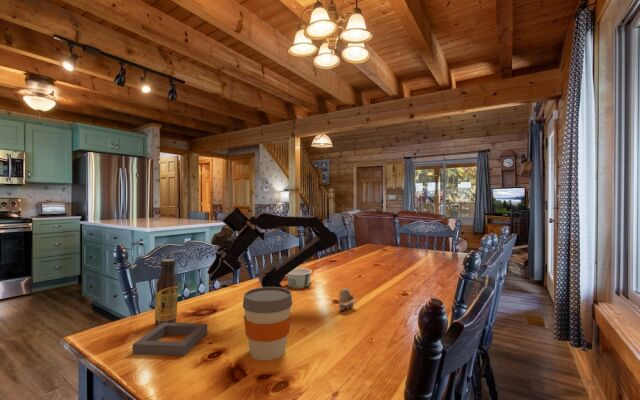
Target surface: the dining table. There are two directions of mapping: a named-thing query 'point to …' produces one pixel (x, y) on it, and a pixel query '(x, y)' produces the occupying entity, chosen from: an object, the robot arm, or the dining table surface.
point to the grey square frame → (155, 347)
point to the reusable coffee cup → (267, 321)
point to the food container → (299, 277)
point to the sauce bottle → (166, 294)
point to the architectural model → (345, 299)
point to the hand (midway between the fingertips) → (209, 276)
